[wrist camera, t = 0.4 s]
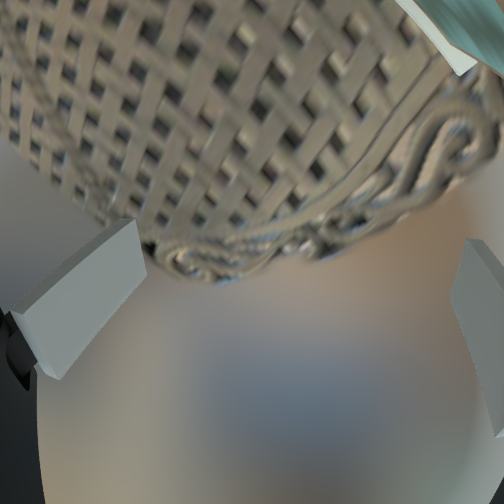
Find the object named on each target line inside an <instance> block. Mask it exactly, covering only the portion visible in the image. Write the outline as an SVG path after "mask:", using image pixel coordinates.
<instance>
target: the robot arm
mask: <svg viewBox="0 0 504 504" xmlns="http://www.w3.org/2000/svg"><path fill="white" fill-rule="evenodd" d="M146 276H147V272H146V268H145V263H144V259H143V254H142V250H141V245H140V241H139V236H138V231H137V226H136V221H135V219H122V218H121V219H119V220H118V221H117V222H115V223H114V224H112V225H111V226H110V227H108V228H107V229H106V230H104V231H103V232H102V233H100V234H99V235H98V236H96V237H95V238H94V239H93V240H91V241H90V242H89V243H87V244H86V245H85V246H84V247H82V248H81V249H80V250H78V251H77V252H76V253H75V254H73V255H72V256H71V257H70V258H68V259H67V260H66V261H65V262H63V263H62V264H61V265H60V266H58V267H57V268H56V269H55V270H54V271H52V272H51V273H50V274H49V275H48V276H47V277H45V278H44V279H43V280H42V281H41V282H39V283H38V284H37V285H36V286H35V287H34V288H33V289H31V290H30V291H29V292H28V293H27V294H26V295H25V296H24V297H22V298H21V299H20V300H19V301H18V302H17V303H16V304H15V305H14V306H13V307H11V308H10V311H9V312H8V313H7V314H6V315H4V314H3V312H2V310H1V308H0V504H45V498H44V492H43V486H42V479H41V470H40V461H39V450H38V434H37V372H36V370H35V368H34V367H33V366H34V365H35V364H36V363H37V362H38V363H39V364H40V366H41V368H42V369H43V371H44V372H45V374H47V375H49V376H51V377H53V378H55V379H58V380H61V378H62V377H63V376H64V374H65V373H66V372H67V370H68V369H69V368H70V367H71V365H72V364H73V363H74V362H75V360H76V359H77V358H78V357H79V355H80V354H81V353H82V351H83V350H84V349H85V348H86V347H87V345H88V344H89V343H90V342H91V340H92V339H93V338H94V337H95V336H96V334H97V333H98V332H99V330H100V329H101V328H102V327H103V326H104V325H105V324H106V322H107V321H108V320H109V319H110V318H111V316H112V315H113V314H114V313H115V311H116V310H117V309H118V308H119V306H121V305H122V303H123V302H124V301H125V300H126V299H127V298H128V297H129V295H130V294H131V293H132V292H133V291H134V290H135V288H136V287H137V286H138V285H139V284H140V283H141V281H143V279H144V278H145V277H146ZM449 301H450V303H451V305H452V307H453V310H454V312H455V315H456V317H457V319H458V322H459V325H460V327H461V330H462V332H463V335H464V337H465V340H466V343H467V345H468V348H469V351H470V354H471V356H472V359H473V362H474V365H475V368H476V371H477V374H478V378H479V381H480V384H481V387H482V391H483V394H484V397H485V401H486V404H487V408H488V412H489V415H490V420H491V424H492V427H493V432H494V437H495V438H497V437H502V436H504V267H503V265H502V264H501V263H500V262H499V260H498V259H497V258H496V256H495V255H494V254H493V253H492V251H491V250H490V249H489V248H488V246H487V245H486V244H485V243H484V242H483V240H478V239H468V238H467V239H466V241H465V245H464V249H463V253H462V257H461V260H460V264H459V268H458V271H457V274H456V278H455V281H454V284H453V287H452V291H451V294H450V297H449ZM489 504H504V478H503V480H502V482H501V483H500V485H499V487H498V489H497V491H496V493H495V495H494V496H493V498H492V500H491V502H490V503H489Z"/></svg>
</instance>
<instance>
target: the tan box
mask: <svg viewBox="0 0 504 504" xmlns="http://www.w3.org/2000/svg"><path fill="white" fill-rule="evenodd" d="M413 1H414V2H415V3H416V4H417V6H418V7H419V8H420V9H421V10H422V11H423V12H424V13H425V15H426V16H427V17H428V18H429V19H430V20H431V22H432V23H433V24H434V25H435V26H436V28H437V29H438V30H439V31H440V33H441V34H442V35H443V36H444V38H445V39H446V40H447V42H448V43H449V44H450V45H451V46H453V47H455V48H457V49H458V50H460V51H462V52H463V53H465V54H467V55H468V56H470V57H472V58H473V59H475V60H476V61H478V62H479V63H481V64H482V65H484V66H486V67H487V68H489V69H490V70H491V71H493V72H494V73H496V74H497V75H499V76H500V77H501V78H503V79H504V0H413Z"/></svg>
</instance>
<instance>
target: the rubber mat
mask: <svg viewBox="0 0 504 504" xmlns="http://www.w3.org/2000/svg"><path fill="white" fill-rule="evenodd" d="M395 1H396V2H397V3H398V4H399V5H400V6H401V7H402V8H403V9H404V10H405V11H406V12H407V14H408V15H409V16H410V17H411V18H412V19H413V20H414V21H415V22H416V23H417V25H418V26H419V27H420V28H421V29H422V30H423V31H424V33H425V34H426V35H427V36H428V37H429V39H430V40H431V41H432V42H433V43H434V45H435V46H436V47H437V49H438V50H439V51H440V52H441V54H442V55H443V56H444V58H445V59H446V60H447V62H448V63H449V64H450V66H451V67H452V68H453V70H454V71H455V73H456V74H457V75H459V76H461V75H462V74H463V73H464V72H466V71H467V70H468V69H469V68H471V67H472V66H473V65H474V64H476V63H477V62H478V61H476V60H475V59H473V58H472V57H470V56H468V55H467V54H465V53H463V52H462V51H460V50H458V49H457V48H455V47H453V46H451V45H450V44H449V43H448V42H447V40H446V39H445V38H444V36H443V35H442V34H441V33H440V31H439V30H438V29H437V28H436V26H435V25H434V24H433V23H432V22H431V20H430V19H429V18H428V17H427V16H426V15H425V13H424V12H423V11H422V10H421V9H420V8H419V7H418V6H417V4H416V3H415V2H414V1H413V0H395Z"/></svg>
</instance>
